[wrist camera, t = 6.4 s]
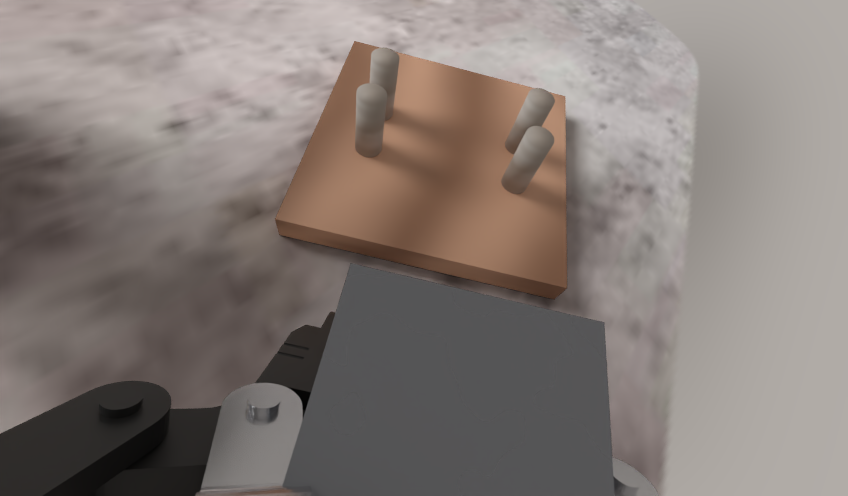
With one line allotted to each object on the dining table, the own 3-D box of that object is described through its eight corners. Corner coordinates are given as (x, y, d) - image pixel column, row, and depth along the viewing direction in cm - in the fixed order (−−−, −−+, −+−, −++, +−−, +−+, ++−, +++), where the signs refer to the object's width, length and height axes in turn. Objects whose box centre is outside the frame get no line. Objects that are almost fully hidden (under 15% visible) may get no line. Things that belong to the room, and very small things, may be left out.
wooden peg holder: (279, 234, 17) (261, 168, 13) (354, 60, 23) (355, -17, 19) (554, 299, 18) (607, 252, 14) (555, 113, 24) (593, 47, 20)
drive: (313, 508, 12) (261, 555, 5) (349, 375, 15) (352, 258, 7) (455, 537, 13) (622, 624, 5) (469, 401, 15) (604, 316, 7)
